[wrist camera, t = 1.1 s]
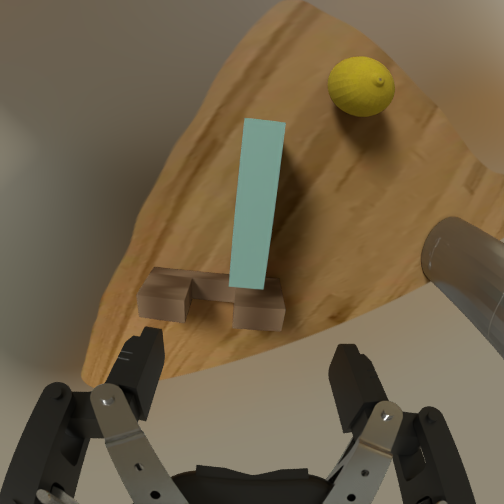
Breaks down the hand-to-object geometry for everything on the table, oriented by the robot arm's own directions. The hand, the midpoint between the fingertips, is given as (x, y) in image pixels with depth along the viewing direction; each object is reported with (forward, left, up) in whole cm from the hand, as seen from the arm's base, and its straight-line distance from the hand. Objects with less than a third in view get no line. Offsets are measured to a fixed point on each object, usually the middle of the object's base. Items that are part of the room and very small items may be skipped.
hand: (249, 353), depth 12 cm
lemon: (-8, -15, -18) cm, 25 cm away
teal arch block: (0, -4, -18) cm, 18 cm away
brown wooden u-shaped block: (+3, +7, -18) cm, 19 cm away
